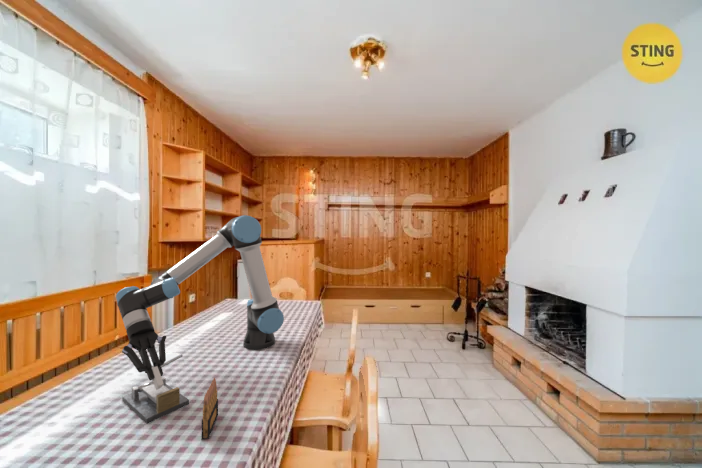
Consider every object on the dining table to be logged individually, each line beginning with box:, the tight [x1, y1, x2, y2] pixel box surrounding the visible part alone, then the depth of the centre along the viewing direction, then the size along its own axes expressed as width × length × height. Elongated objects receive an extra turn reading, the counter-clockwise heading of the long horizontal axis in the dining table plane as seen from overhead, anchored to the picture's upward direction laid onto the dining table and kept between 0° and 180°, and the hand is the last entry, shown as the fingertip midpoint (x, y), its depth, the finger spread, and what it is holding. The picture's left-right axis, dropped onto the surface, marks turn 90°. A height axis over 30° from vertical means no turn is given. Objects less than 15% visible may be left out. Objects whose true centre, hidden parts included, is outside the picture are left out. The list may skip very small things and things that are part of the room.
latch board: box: [121, 376, 190, 425], centre depth 95 cm, size 20×12×6 cm, turn 55°
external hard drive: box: [150, 352, 183, 368], centre depth 127 cm, size 2×8×12 cm
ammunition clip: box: [201, 377, 219, 440], centre depth 84 cm, size 11×2×12 cm, turn 12°
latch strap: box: [137, 380, 169, 403], centre depth 95 cm, size 2×6×14 cm
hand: (159, 386), depth 94 cm, fingers closed
